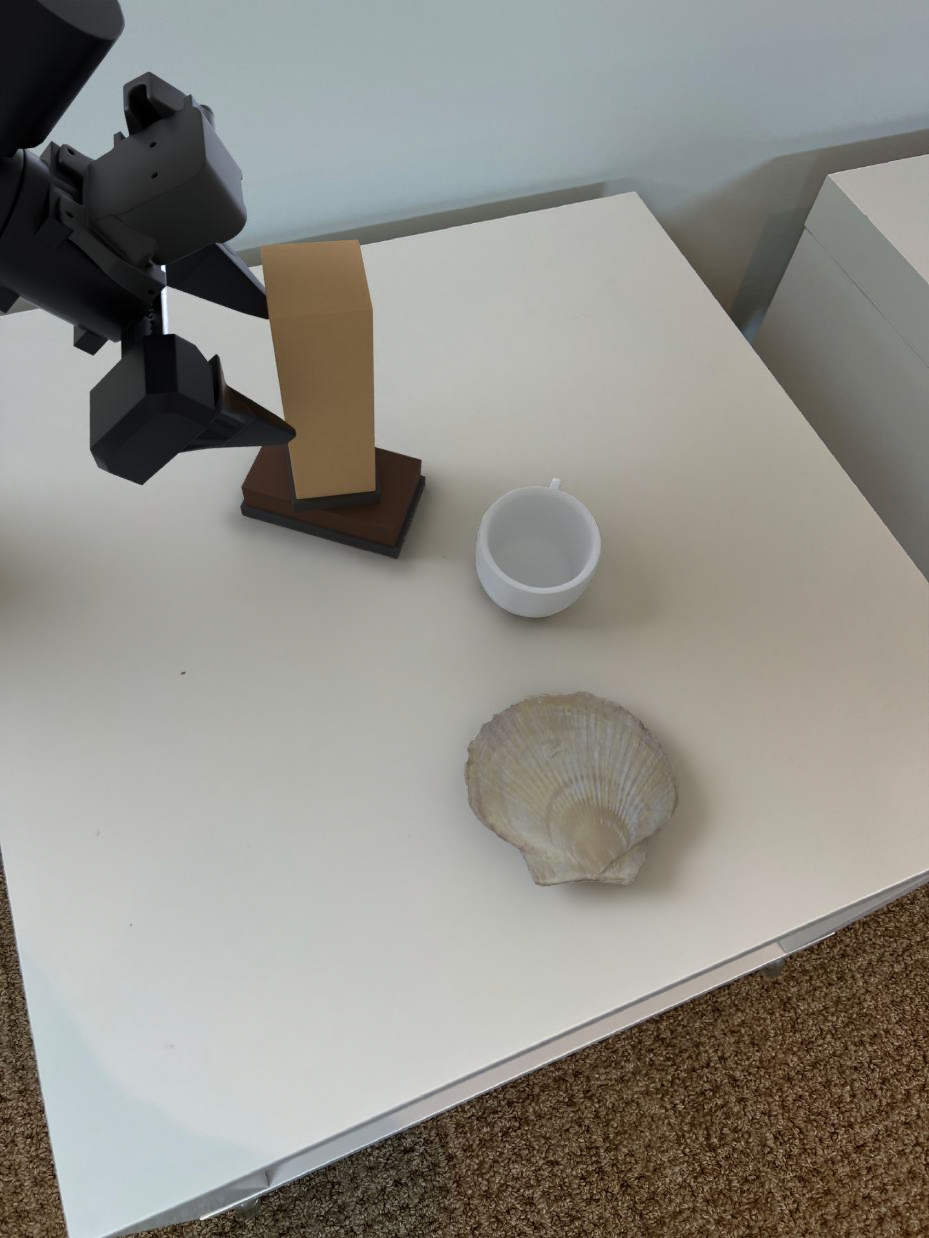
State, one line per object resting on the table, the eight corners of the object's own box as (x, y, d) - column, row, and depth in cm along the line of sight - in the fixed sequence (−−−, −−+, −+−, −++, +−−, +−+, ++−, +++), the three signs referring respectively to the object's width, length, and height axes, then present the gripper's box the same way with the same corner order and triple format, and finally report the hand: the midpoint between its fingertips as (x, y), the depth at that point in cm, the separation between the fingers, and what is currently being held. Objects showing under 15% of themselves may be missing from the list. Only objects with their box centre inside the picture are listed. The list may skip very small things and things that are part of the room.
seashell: (550, 664, 55) (558, 644, 52) (700, 786, 52) (716, 771, 50) (427, 796, 51) (429, 781, 48) (583, 937, 48) (594, 930, 45)
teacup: (570, 647, 56) (588, 608, 51) (456, 615, 56) (463, 573, 51) (600, 524, 60) (619, 478, 56) (495, 495, 61) (504, 447, 56)
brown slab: (241, 515, 58) (234, 488, 56) (277, 443, 61) (272, 414, 59) (397, 559, 58) (397, 535, 55) (425, 484, 61) (427, 457, 58)
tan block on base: (381, 503, 56) (380, 313, 42) (293, 513, 55) (263, 322, 41) (368, 435, 58) (363, 234, 44) (285, 444, 58) (252, 241, 43)
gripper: (95, 237, 28) (415, 427, 40) (94, -66, 36) (360, 165, 48) (-57, 419, 34) (262, 539, 45) (-29, 122, 42) (235, 287, 54)
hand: (282, 373), depth 48 cm, fingers open, 9 cm apart
